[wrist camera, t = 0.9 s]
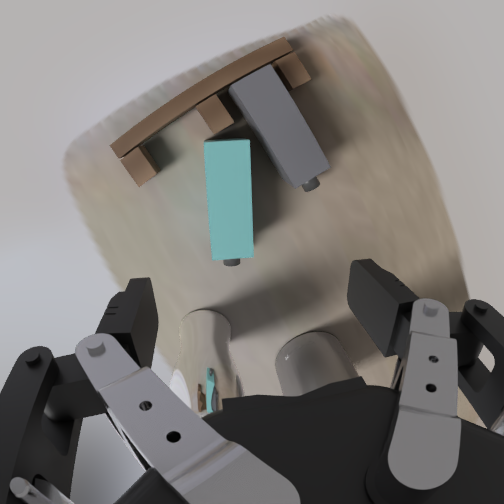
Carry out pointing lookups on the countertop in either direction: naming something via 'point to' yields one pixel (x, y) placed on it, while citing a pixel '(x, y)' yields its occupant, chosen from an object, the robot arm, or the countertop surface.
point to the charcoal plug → (280, 128)
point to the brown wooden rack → (205, 104)
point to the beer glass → (205, 363)
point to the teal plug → (229, 199)
